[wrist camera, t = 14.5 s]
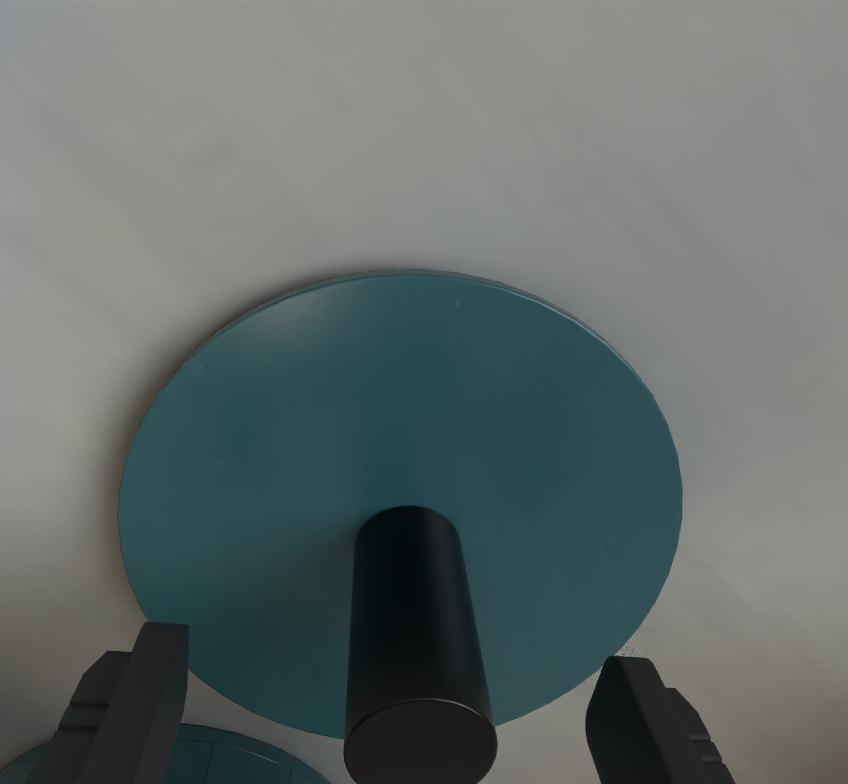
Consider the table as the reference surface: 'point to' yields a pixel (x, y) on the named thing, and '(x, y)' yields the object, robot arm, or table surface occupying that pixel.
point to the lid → (401, 513)
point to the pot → (204, 761)
